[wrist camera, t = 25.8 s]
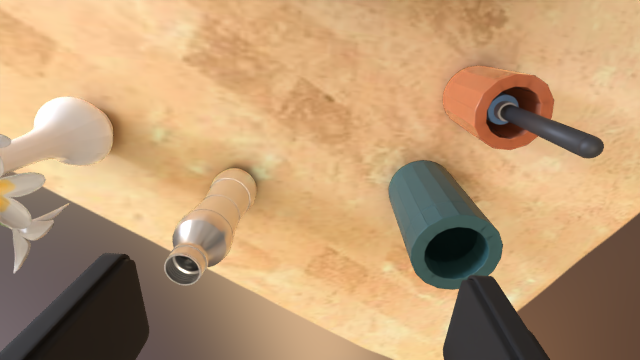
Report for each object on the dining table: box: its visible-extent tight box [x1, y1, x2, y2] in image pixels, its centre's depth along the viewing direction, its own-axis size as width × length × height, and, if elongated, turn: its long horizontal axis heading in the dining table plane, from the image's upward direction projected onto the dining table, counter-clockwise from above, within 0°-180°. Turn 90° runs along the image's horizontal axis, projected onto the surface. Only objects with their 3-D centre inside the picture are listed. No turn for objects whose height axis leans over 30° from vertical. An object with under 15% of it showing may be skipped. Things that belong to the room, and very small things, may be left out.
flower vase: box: [0, 96, 113, 273], centre depth 36 cm, size 13×18×25 cm
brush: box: [487, 93, 604, 158], centre depth 33 cm, size 3×3×22 cm
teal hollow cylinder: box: [389, 160, 503, 289], centre depth 42 cm, size 9×9×16 cm
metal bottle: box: [164, 168, 256, 285], centre depth 41 cm, size 6×7×20 cm
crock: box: [443, 65, 554, 150], centre depth 39 cm, size 8×8×11 cm
